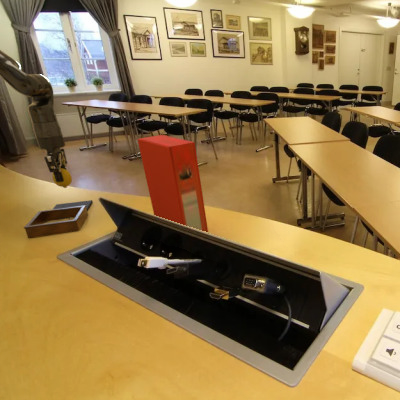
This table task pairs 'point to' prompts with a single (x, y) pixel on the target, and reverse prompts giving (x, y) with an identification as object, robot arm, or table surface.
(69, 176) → the lemon
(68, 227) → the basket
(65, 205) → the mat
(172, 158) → the file binder
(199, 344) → the table surface
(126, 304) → the table surface
